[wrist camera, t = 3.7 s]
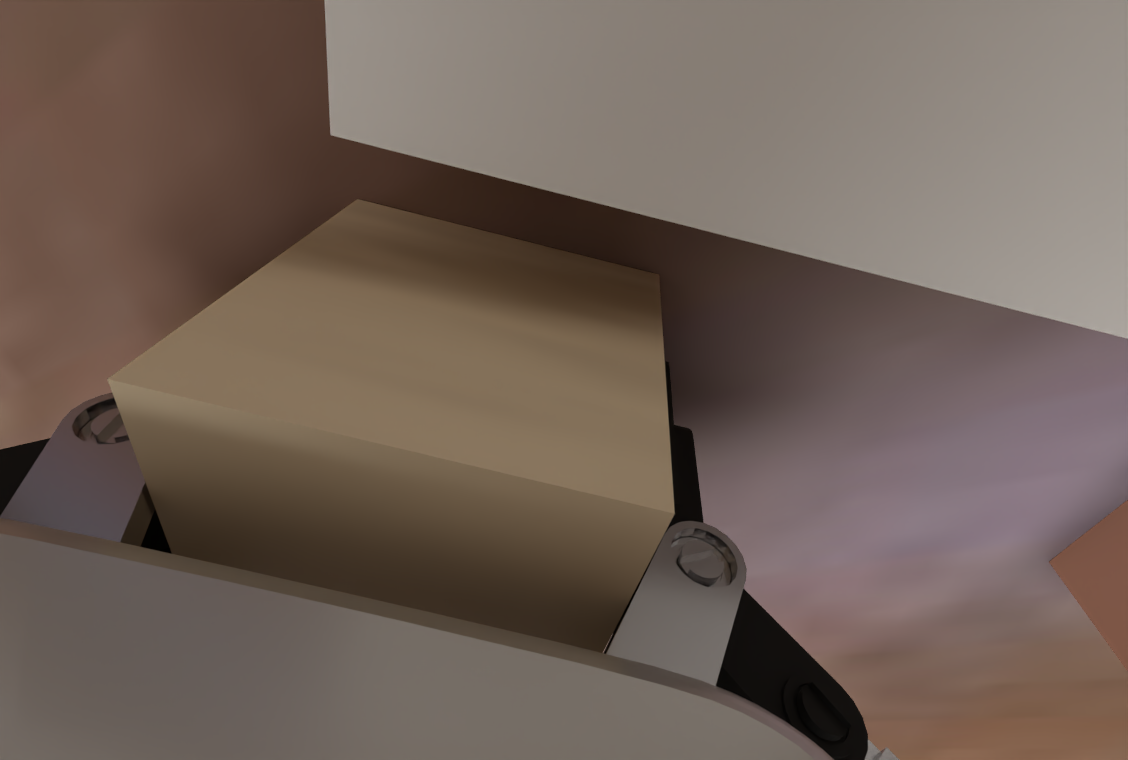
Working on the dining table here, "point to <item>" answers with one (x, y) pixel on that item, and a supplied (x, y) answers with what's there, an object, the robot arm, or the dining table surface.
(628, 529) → the brass cube
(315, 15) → the dining table surface
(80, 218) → the dining table surface
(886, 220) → the grey base board
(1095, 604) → the terracotta cube
